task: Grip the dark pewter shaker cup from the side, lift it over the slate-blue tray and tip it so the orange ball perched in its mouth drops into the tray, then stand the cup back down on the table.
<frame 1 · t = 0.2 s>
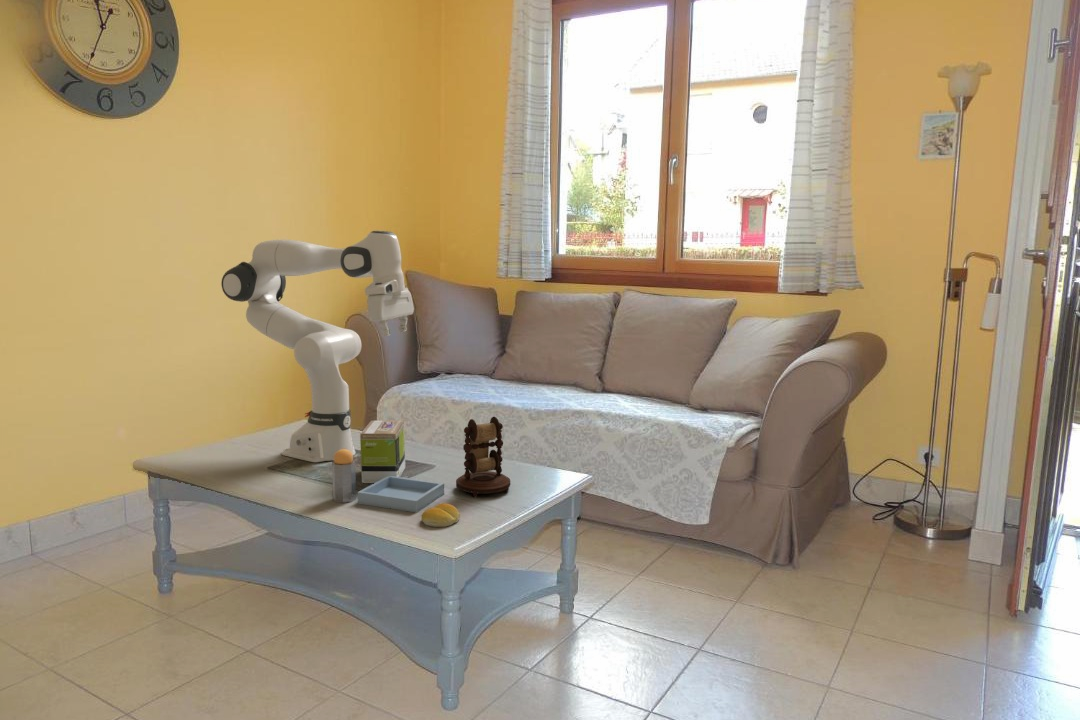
hand: (395, 333, 225), 39 cm above the table, tool pointing down, fingers open, 8 cm apart
wooden spool stand: (483, 490, 209), on the table
ball: (343, 458, 197), point 11 cm above the table, touching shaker
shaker: (344, 499, 199), on the table, touching ball
tray: (401, 498, 200), on the table
bread roll: (440, 522, 185), on the table
tea box: (384, 476, 219), on the table
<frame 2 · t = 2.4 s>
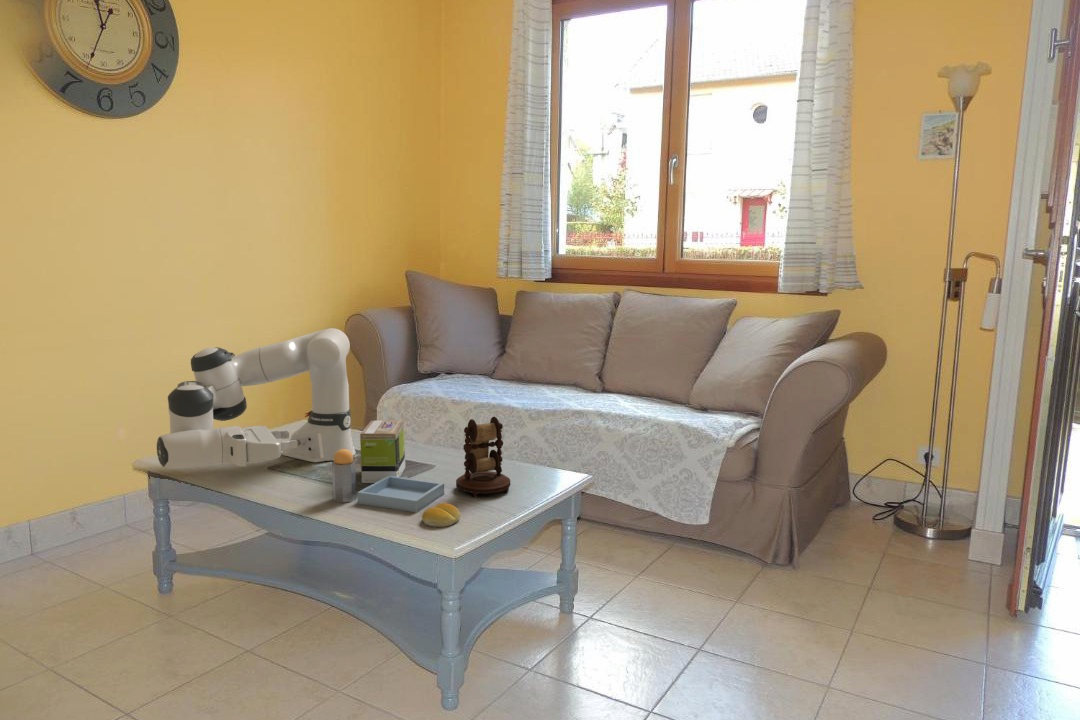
hand: (292, 438, 190), 18 cm above the table, tool horizontal, fingers open, 8 cm apart
nothing on the table moved.
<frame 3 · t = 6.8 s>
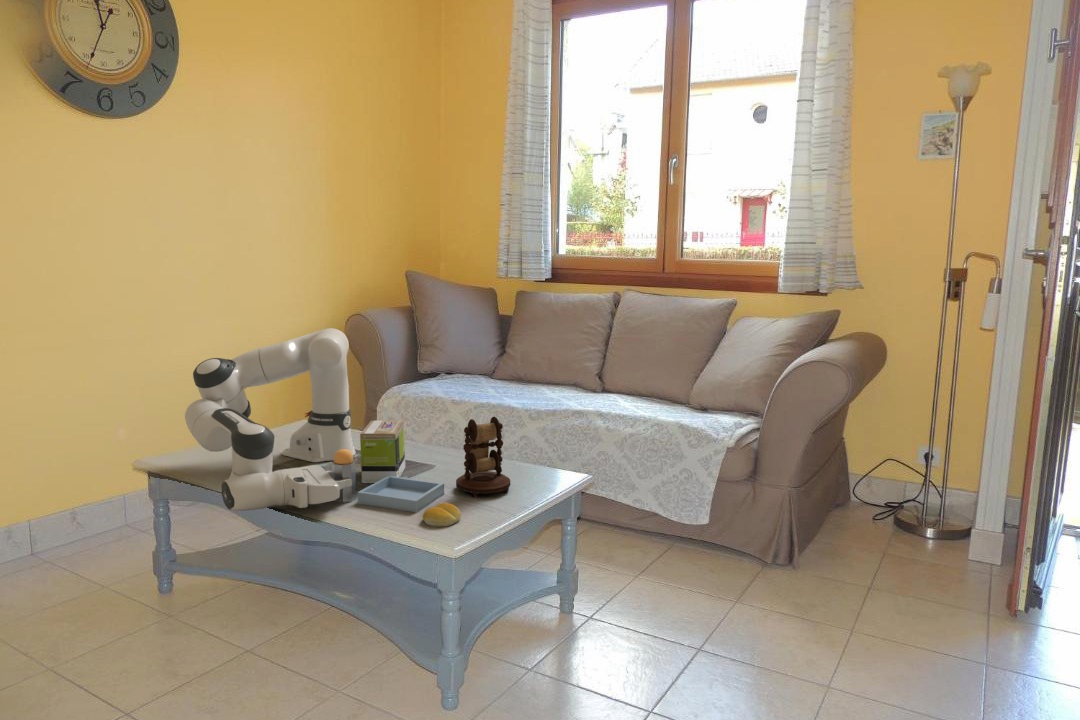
hand: (347, 478, 199), 6 cm above the table, tool horizontal, fingers closed on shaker, 5 cm apart
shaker: (344, 499, 199), on the table, touching ball, gripper
everything else where it was.
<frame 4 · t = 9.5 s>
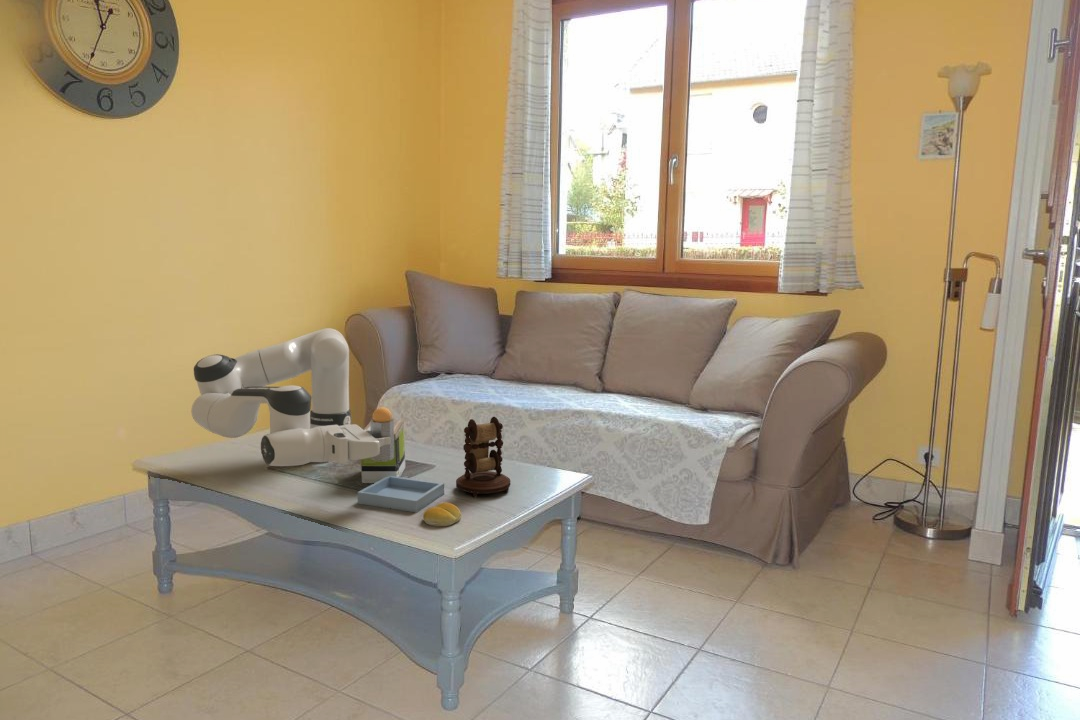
hand: (385, 436, 196), 17 cm above the table, tool horizontal, fingers closed on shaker, 5 cm apart
ball: (382, 416, 195), point 22 cm above the table, touching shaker
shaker: (382, 458, 197), point 11 cm above the table, touching ball, gripper
everything else where it was.
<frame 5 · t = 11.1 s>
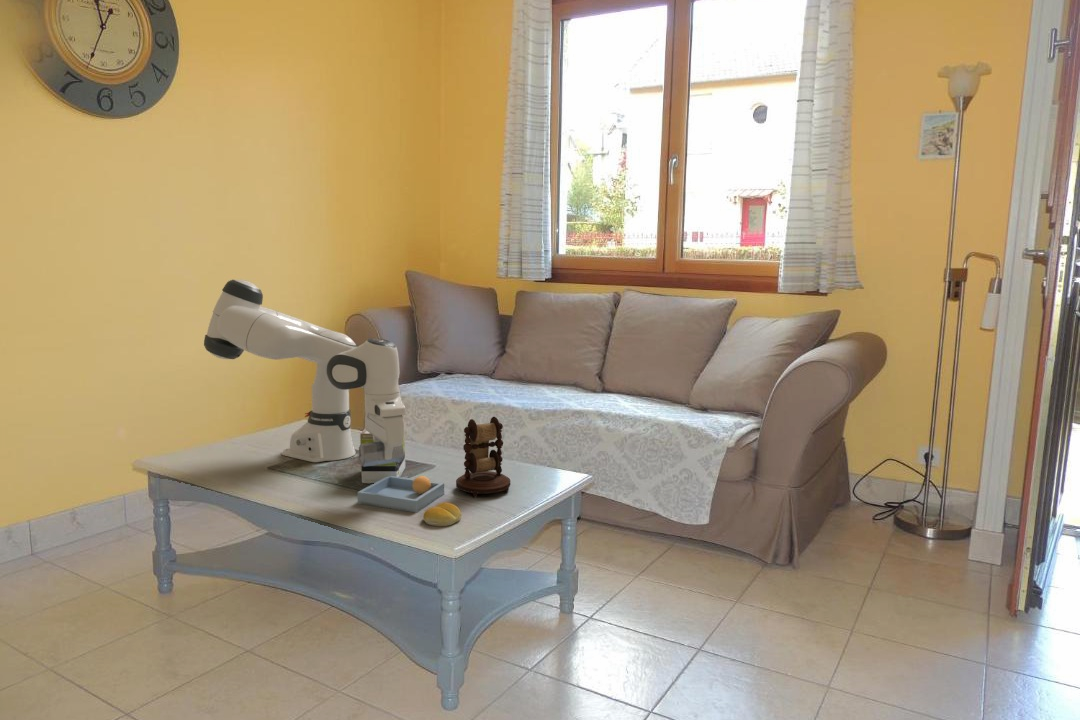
hand: (383, 455, 197), 12 cm above the table, tool pointing down, fingers closed on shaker, 5 cm apart
ball: (421, 485, 202), point 3 cm above the table, tilted 117°, touching tray
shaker: (362, 455, 194), point 13 cm above the table, tilted 90°, touching gripper
everything else where it was.
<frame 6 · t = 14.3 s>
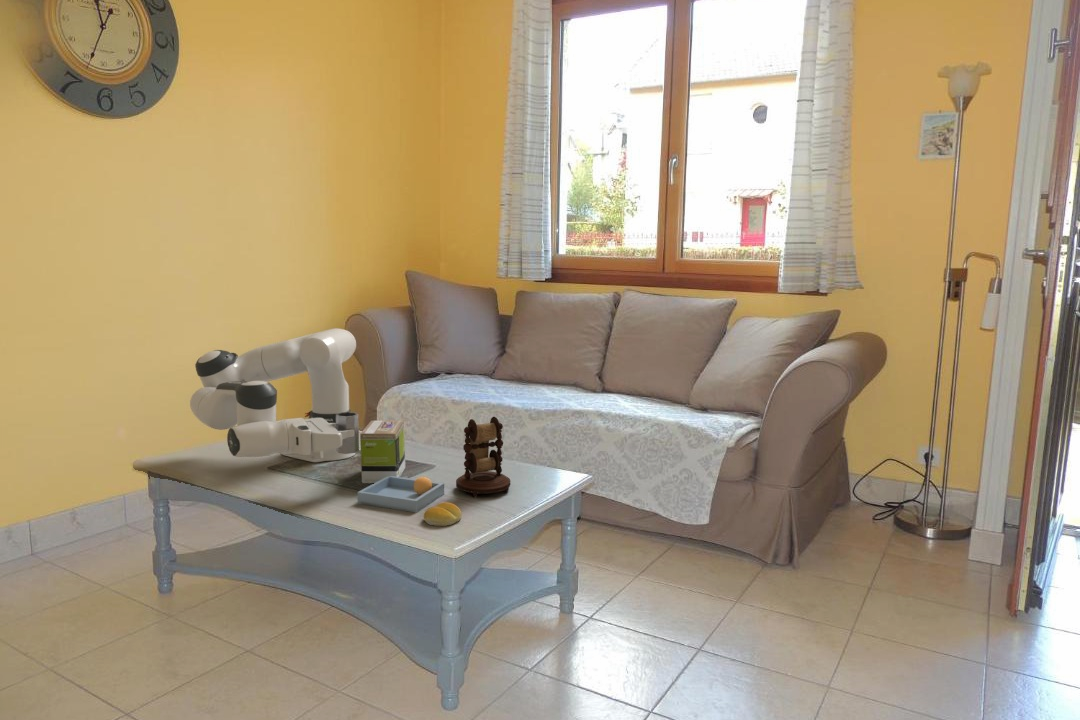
hand: (349, 429, 204), 17 cm above the table, tool horizontal, fingers closed on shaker, 5 cm apart
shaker: (347, 450, 204), point 11 cm above the table, touching gripper
when the fingers open (7 cm above the table, at t = 16.5 s): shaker drops 1 cm, on the table.
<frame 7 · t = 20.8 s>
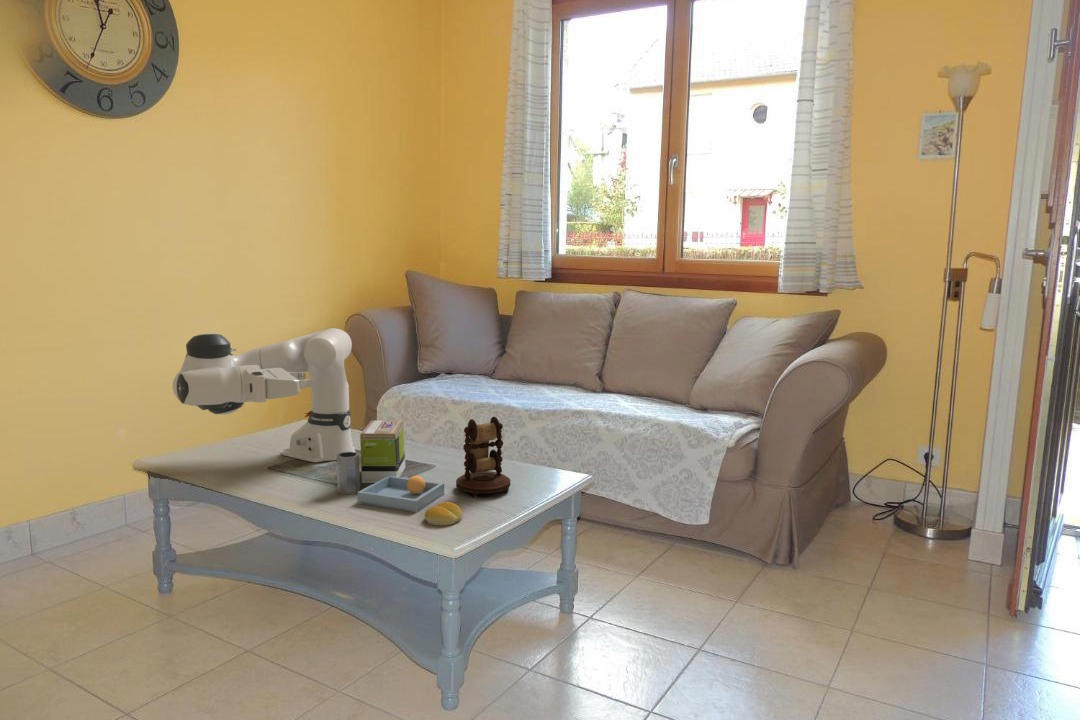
hand: (309, 379, 192), 32 cm above the table, tool horizontal, fingers open, 8 cm apart
ball: (416, 484, 202), point 3 cm above the table, tilted 146°, touching tray
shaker: (348, 490, 206), on the table
at the end: ball inside the target area on the tray (4.1 cm from its centre), point 3.0 cm above the tray's base; ball touching tray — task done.
